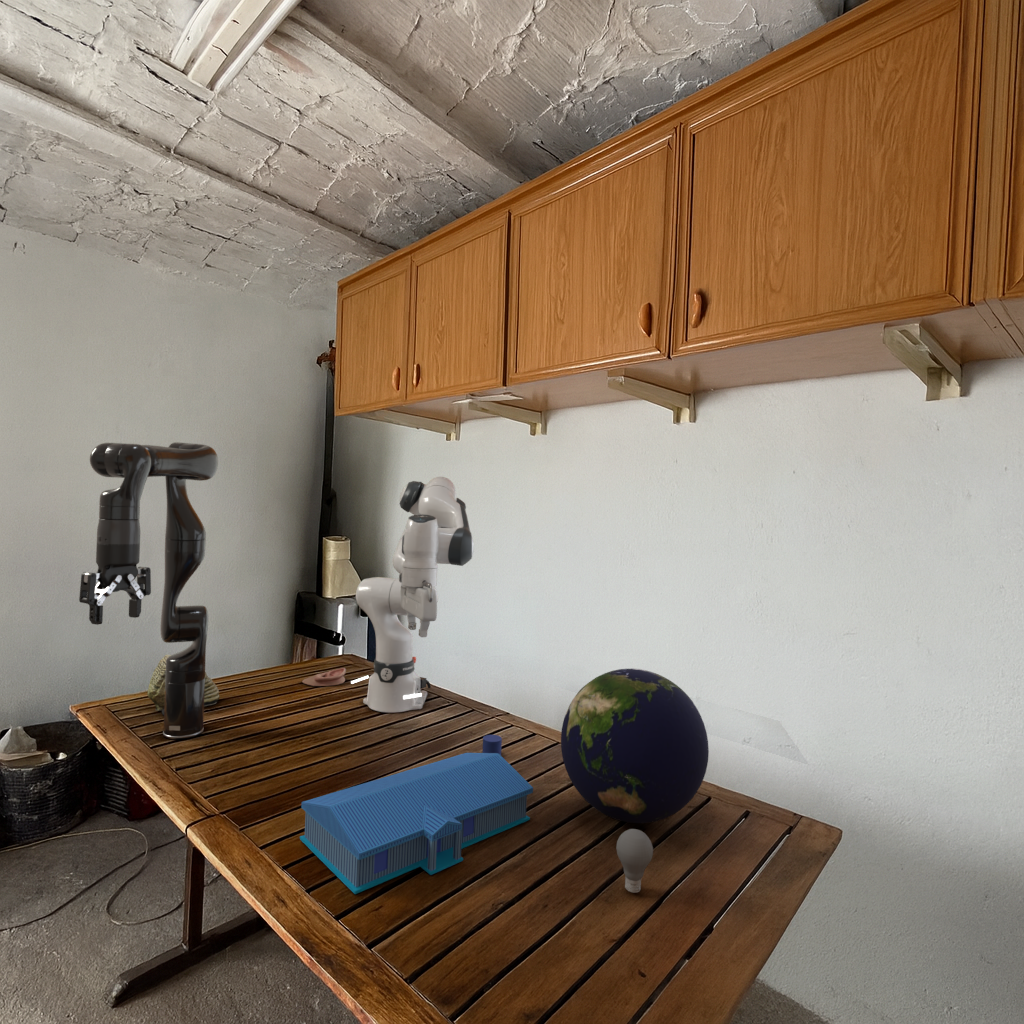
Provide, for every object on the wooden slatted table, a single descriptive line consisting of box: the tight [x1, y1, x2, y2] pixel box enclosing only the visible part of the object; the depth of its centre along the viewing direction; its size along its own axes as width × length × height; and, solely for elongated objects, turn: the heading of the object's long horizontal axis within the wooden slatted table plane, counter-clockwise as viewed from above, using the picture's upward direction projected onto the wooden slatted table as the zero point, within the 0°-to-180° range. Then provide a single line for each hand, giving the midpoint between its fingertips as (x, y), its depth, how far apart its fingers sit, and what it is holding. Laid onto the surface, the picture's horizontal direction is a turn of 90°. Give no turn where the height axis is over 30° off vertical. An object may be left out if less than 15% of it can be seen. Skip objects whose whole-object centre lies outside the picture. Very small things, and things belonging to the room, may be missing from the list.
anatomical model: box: [301, 667, 347, 687], centre depth 214 cm, size 13×4×12 cm
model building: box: [299, 752, 534, 895], centre depth 121 cm, size 39×24×10 cm, turn 132°
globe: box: [560, 668, 710, 824], centre depth 131 cm, size 30×30×30 cm
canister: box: [481, 734, 503, 756], centre depth 159 cm, size 5×5×5 cm
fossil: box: [147, 654, 221, 712], centre depth 185 cm, size 9×18×15 cm, turn 132°
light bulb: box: [615, 828, 654, 894], centre depth 106 cm, size 6×6×10 cm
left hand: (116, 620), depth 129 cm, fingers open, 8 cm apart
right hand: (417, 633), depth 161 cm, fingers open, 8 cm apart
